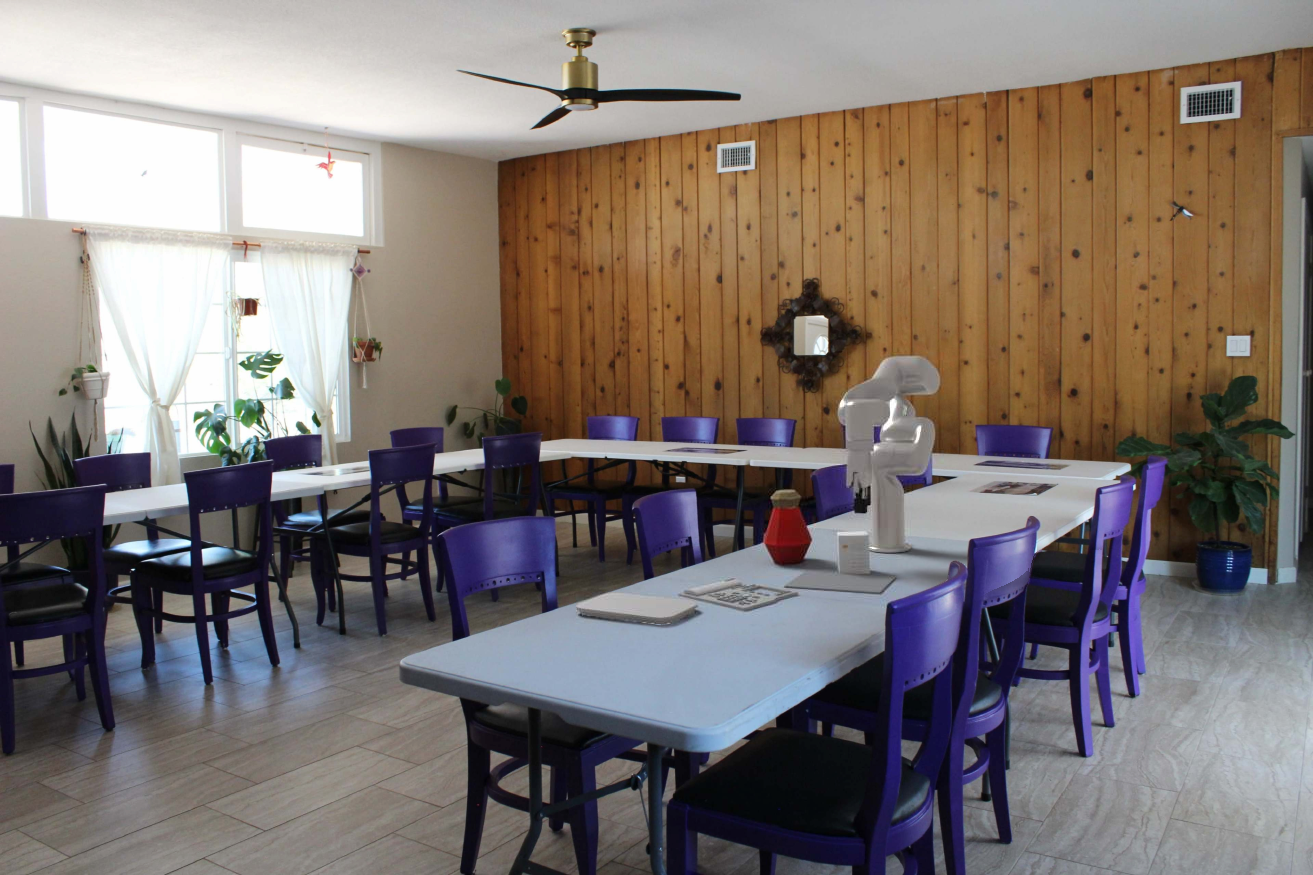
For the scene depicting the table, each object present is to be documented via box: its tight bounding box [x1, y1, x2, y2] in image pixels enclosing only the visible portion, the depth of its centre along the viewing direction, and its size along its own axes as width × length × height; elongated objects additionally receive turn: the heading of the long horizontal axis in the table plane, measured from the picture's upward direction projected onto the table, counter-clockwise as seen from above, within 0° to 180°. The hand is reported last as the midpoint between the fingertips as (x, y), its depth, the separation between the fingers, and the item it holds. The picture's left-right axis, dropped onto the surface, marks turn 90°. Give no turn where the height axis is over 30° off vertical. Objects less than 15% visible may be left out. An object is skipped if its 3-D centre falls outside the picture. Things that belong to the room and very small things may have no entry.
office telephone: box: [677, 578, 799, 612], centre depth 239 cm, size 23×3×20 cm
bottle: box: [762, 489, 813, 565], centre depth 277 cm, size 16×14×20 cm
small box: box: [836, 530, 871, 575], centre depth 260 cm, size 8×6×10 cm
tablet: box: [575, 592, 699, 624], centre depth 227 cm, size 16×26×2 cm, turn 58°
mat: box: [783, 570, 897, 595], centre depth 249 cm, size 18×24×1 cm
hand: (860, 512), depth 268 cm, fingers closed
